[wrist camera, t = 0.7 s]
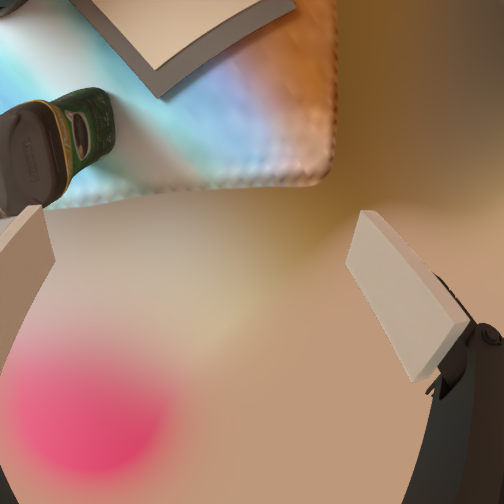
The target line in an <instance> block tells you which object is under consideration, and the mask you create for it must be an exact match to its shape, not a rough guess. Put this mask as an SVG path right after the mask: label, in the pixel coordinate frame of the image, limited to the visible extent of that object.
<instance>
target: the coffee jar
mask: <svg viewBox="0 0 504 504" xmlns="http://www.w3.org/2000/svg"><path fill="white" fill-rule="evenodd" d="M114 143H115V125H114V118H113V111H112V107H111V103H110V100H109V97H108V95H107V94H106V93H105V92H104V91H103V90H102V89H100V88H95V87H91V88H85V89H80V90H76V91H73V92H71V93H68V94H66V95H64V96H62V97H60V98H58V99H56V100H54V101H51V102H47V101H44V100H32V101H28V102H25V103H22V104H19V105H17V106H15V107H13V108H11V109H10V110H8V111H6V112H5V113H3V114H2V115H0V208H1V209H2V210H3V211H4V212H5V213H6V215H8V216H18V215H19V214H20V213H21V212H22V211H23V210H24V209H25V208H26V207H27V206H30V205H42V208H45V207H47V206H48V205H50V204H51V203H53V202H54V201H56V200H58V199H59V198H61V197H62V195H63V194H64V193H65V192H66V190H67V188H68V186H69V184H70V182H71V180H72V178H73V177H74V176H75V175H76V174H77V173H78V172H79V171H81V170H82V169H84V168H85V167H87V166H89V165H91V164H92V163H94V162H96V161H98V160H100V159H101V158H103V157H104V156H106V155H107V154H108V153H109V152H110V151H111V150H112V148H113V146H114Z"/></svg>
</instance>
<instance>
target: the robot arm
mask: <svg viewBox="0 0 504 504" xmlns="http://www.w3.org/2000/svg"><path fill="white" fill-rule="evenodd" d="M26 1H27V0H0V17H2V16H5V15H7V14H9V13H11V12H13V11H14V10H16V9H17V8H19V7H20V6H21V5H23V4H24V3H25V2H26ZM54 263H55V258H54V254H53V250H52V247H51V243H50V239H49V235H48V231H47V227H46V222H45V218H44V213H43V208H42V205H30V206H27V207H26V208H25V209H24V210H23V211H22V212H21V213H20V214H19V215H18V216H17V217H16V218H15V219H14V220H13V221H12V223H11V224H10V225H9V226H8V227H7V228H6V229H5V230H4V231H3V232H2V233H1V235H0V374H1V372H2V369H3V366H4V364H5V361H6V359H7V356H8V354H9V352H10V349H11V347H12V344H13V342H14V340H15V338H16V335H17V333H18V331H19V329H20V327H21V325H22V323H23V321H24V318H25V316H26V314H27V312H28V310H29V308H30V306H31V305H32V303H33V300H34V299H35V297H36V295H37V292H38V291H39V289H40V287H41V286H42V284H43V282H44V280H45V279H46V277H47V275H48V273H49V271H50V270H51V268H52V266H53V265H54ZM345 265H346V266H347V268H348V270H349V271H350V273H351V275H352V276H353V278H354V280H355V281H356V283H357V285H358V286H359V288H360V290H361V291H362V293H363V295H364V296H365V298H366V300H367V301H368V303H369V305H370V307H371V308H372V310H373V312H374V314H375V316H376V317H377V319H378V321H379V323H380V324H381V326H382V328H383V330H384V332H385V333H386V335H387V337H388V339H389V341H390V343H391V344H392V346H393V348H394V350H395V352H396V354H397V356H398V358H399V359H400V361H401V363H402V365H403V367H404V369H405V371H406V373H407V375H408V377H409V378H410V381H411V383H414V382H417V381H421V380H424V379H427V378H429V377H430V375H431V374H432V372H434V370H435V369H436V368H437V367H438V369H439V371H440V372H441V374H440V375H439V376H438V377H437V379H436V380H435V381H434V382H433V383H432V385H431V386H430V387H429V388H428V389H427V391H426V393H425V394H427V395H428V394H429V393H430V392H431V390H432V389H434V388H435V390H434V393H433V394H432V397H433V400H432V405H431V409H430V414H429V418H428V422H427V426H426V431H425V434H424V438H423V442H422V445H421V449H420V452H419V456H418V459H417V462H416V465H415V468H414V471H413V474H412V477H411V480H410V483H409V486H408V488H407V491H406V494H405V496H404V499H403V501H402V504H504V338H502V336H501V334H500V333H499V332H498V331H497V330H496V329H495V328H494V327H492V326H491V325H489V324H486V323H479V324H478V325H477V323H476V322H475V321H474V320H473V318H472V317H471V316H470V314H469V313H468V312H467V310H466V309H465V308H464V306H463V305H462V304H461V302H460V301H459V300H458V299H457V298H455V295H454V294H453V292H452V291H451V290H449V288H448V286H447V285H446V284H445V283H444V282H443V280H442V279H441V278H439V277H438V276H437V275H435V274H434V273H433V272H432V271H431V270H430V269H429V268H428V267H427V266H426V264H425V263H424V262H423V261H422V260H421V259H420V258H419V256H418V255H417V254H416V253H415V252H414V251H413V250H412V249H411V248H410V246H409V245H408V244H407V243H406V242H405V241H404V240H403V239H402V238H401V237H400V236H399V234H398V233H396V231H395V230H394V229H393V228H392V227H391V226H390V225H389V224H388V223H387V222H386V221H385V220H384V219H383V218H382V217H381V216H380V215H379V214H378V213H377V212H376V211H368V210H361V211H360V215H359V219H358V222H357V226H356V229H355V232H354V236H353V240H352V242H351V246H350V249H349V253H348V255H347V259H346V262H345ZM0 504H19V503H18V501H17V500H16V497H15V496H14V494H13V492H12V490H11V488H10V485H9V483H8V481H7V479H6V477H5V475H4V473H3V471H2V468H1V466H0Z"/></svg>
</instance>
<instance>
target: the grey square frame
mask: <svg viewBox="0 0 504 504" xmlns="http://www.w3.org/2000/svg"><path fill="white" fill-rule="evenodd" d="M69 1H70V2H71V3H72V4H73V5H74V6H75V7H76V8H77V9H78V10H79V11H80V12H81V14H82V15H83V16H84V17H85V18H86V19H87V20H88V21H89V22H90V23H91V25H92V26H93V27H94V28H95V29H96V30H97V31H98V32H99V33H100V34H101V36H102V37H103V38H104V39H105V40H106V41H107V42H108V43H109V45H110V46H111V47H112V48H113V49H114V50H115V51H116V52H117V54H118V55H119V56H120V57H121V58H122V59H123V60H124V61H125V63H126V64H127V65H128V66H129V67H130V68H131V69H132V71H133V72H134V73H135V74H136V75H137V76H138V77H139V79H140V80H141V81H142V82H143V83H144V84H145V85H146V87H147V88H148V89H149V90H150V91H151V92H152V94H153V95H154V96H155V97H156V98H157V99H159V98H160V97H161V96H162V95H164V94H165V93H166V92H167V91H169V90H170V89H171V88H172V87H174V86H175V85H176V84H177V83H179V82H180V81H181V80H183V79H184V78H185V77H187V76H188V75H189V74H191V73H192V72H193V71H195V70H196V69H198V68H199V67H200V66H202V65H203V64H205V63H206V62H207V61H209V60H210V59H212V58H213V57H215V56H216V55H218V54H219V53H221V52H222V51H224V50H225V49H227V48H228V47H230V46H231V45H233V44H234V43H236V42H238V41H239V40H241V39H242V38H244V37H246V36H247V35H249V34H251V33H252V32H254V31H256V30H258V29H259V28H261V27H263V26H265V25H266V24H268V23H270V22H272V21H274V20H276V19H277V18H279V17H281V16H283V15H285V14H287V13H289V12H291V11H293V10H295V9H296V8H297V6H296V5H295V4H294V3H293V1H292V0H69Z"/></svg>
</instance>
